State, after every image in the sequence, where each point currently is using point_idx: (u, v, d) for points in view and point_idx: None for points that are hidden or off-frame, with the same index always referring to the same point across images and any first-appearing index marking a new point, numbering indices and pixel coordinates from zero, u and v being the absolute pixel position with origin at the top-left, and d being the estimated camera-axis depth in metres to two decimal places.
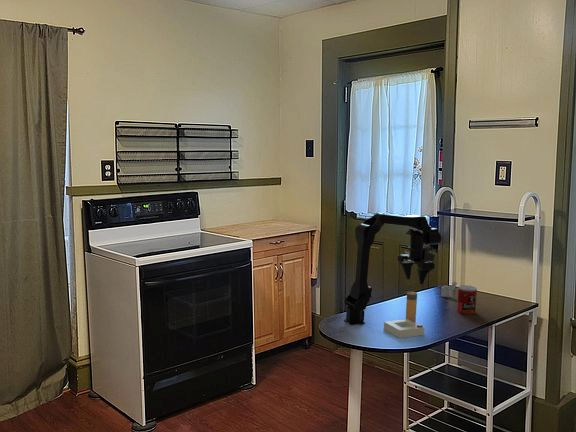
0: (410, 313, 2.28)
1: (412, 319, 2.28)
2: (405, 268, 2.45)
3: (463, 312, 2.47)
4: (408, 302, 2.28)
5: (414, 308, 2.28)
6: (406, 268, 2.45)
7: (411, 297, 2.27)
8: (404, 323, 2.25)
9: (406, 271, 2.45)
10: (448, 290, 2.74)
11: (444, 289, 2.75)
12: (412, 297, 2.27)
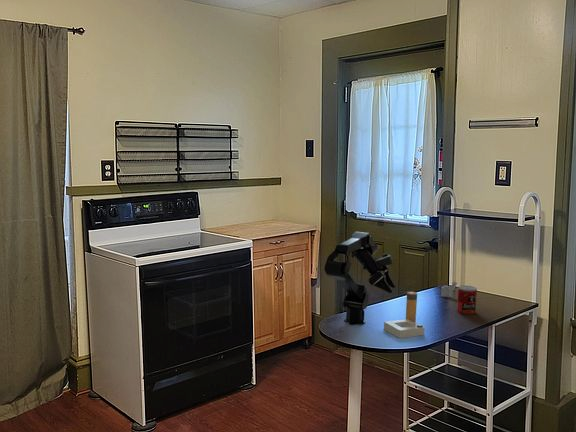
0: (410, 313, 2.28)
1: (412, 319, 2.28)
2: None
3: (463, 312, 2.47)
4: (408, 302, 2.28)
5: (414, 308, 2.28)
6: None
7: (411, 297, 2.27)
8: (404, 323, 2.25)
9: (386, 282, 2.36)
10: (448, 290, 2.74)
11: (444, 289, 2.75)
12: (412, 297, 2.27)
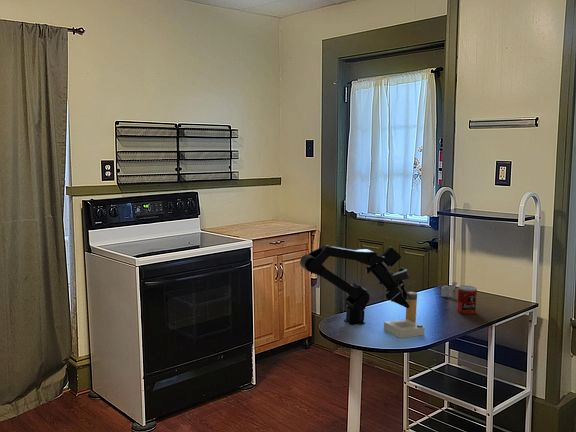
0: (410, 313, 2.28)
1: (412, 319, 2.28)
2: None
3: (463, 312, 2.47)
4: (408, 302, 2.28)
5: (414, 308, 2.28)
6: None
7: (411, 297, 2.27)
8: (404, 323, 2.25)
9: (402, 296, 2.35)
10: (448, 290, 2.74)
11: (444, 289, 2.75)
12: (412, 297, 2.27)
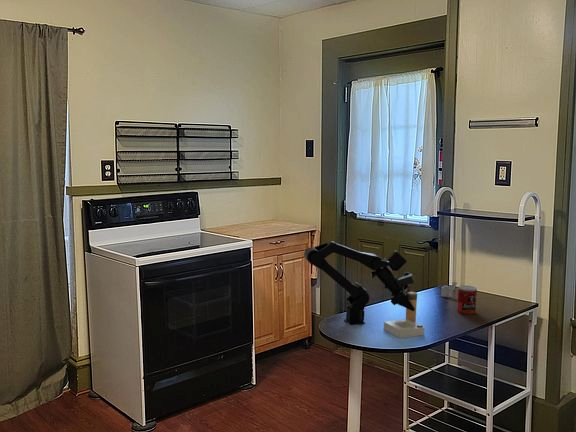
0: (410, 313, 2.28)
1: (412, 319, 2.28)
2: None
3: (463, 312, 2.47)
4: None
5: None
6: None
7: (411, 297, 2.27)
8: (404, 323, 2.25)
9: None
10: (448, 290, 2.74)
11: (444, 289, 2.75)
12: (412, 297, 2.27)
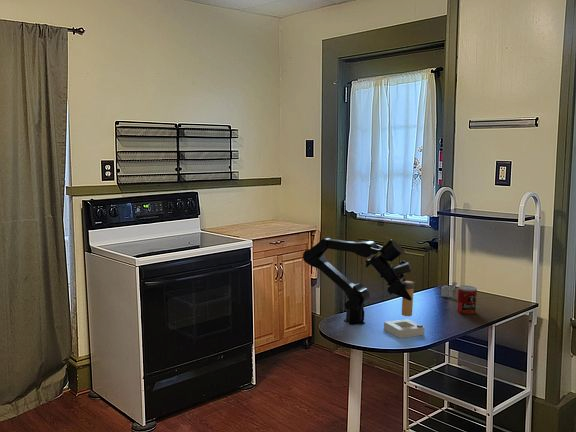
0: (407, 303, 2.21)
1: (409, 309, 2.22)
2: None
3: (463, 312, 2.47)
4: None
5: (411, 297, 2.21)
6: None
7: (408, 286, 2.20)
8: (404, 323, 2.25)
9: None
10: (448, 290, 2.74)
11: (444, 289, 2.75)
12: (409, 286, 2.20)
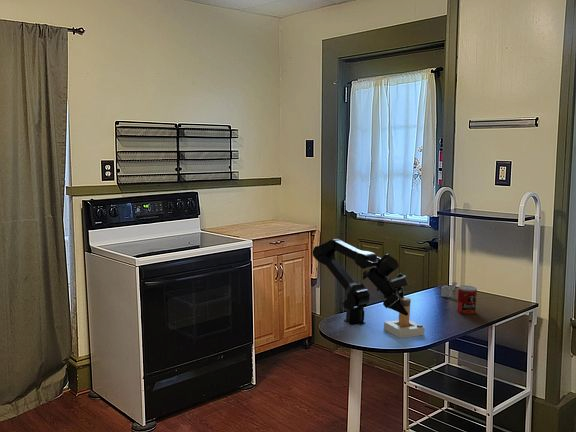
0: (403, 320, 2.19)
1: (405, 326, 2.19)
2: None
3: (463, 312, 2.47)
4: None
5: (407, 315, 2.19)
6: None
7: (404, 303, 2.18)
8: None
9: None
10: (448, 290, 2.74)
11: (444, 289, 2.75)
12: (405, 303, 2.18)
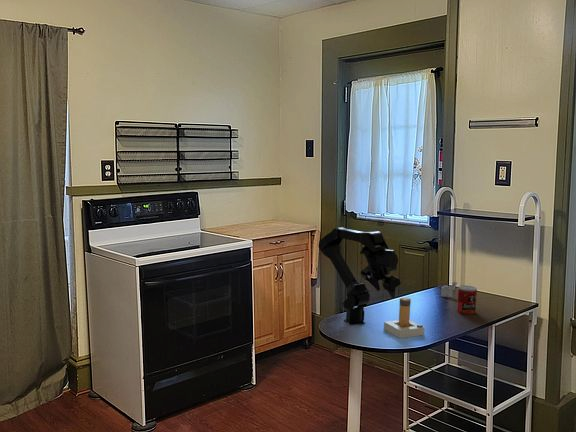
0: (403, 320, 2.19)
1: (405, 326, 2.19)
2: (372, 283, 2.32)
3: (463, 312, 2.47)
4: (401, 309, 2.19)
5: (407, 315, 2.19)
6: (372, 282, 2.32)
7: (405, 303, 2.18)
8: None
9: (374, 285, 2.32)
10: (448, 290, 2.74)
11: (444, 289, 2.75)
12: (405, 303, 2.18)
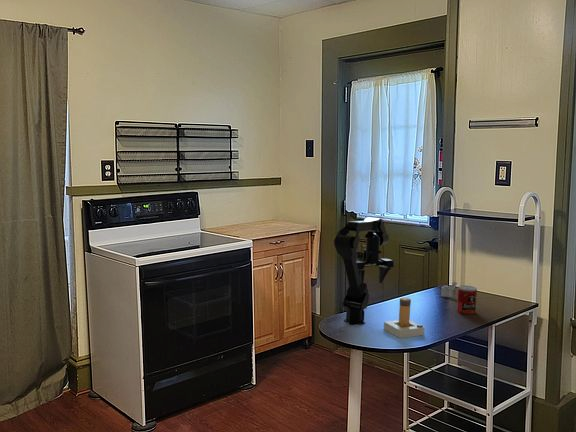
0: (403, 320, 2.19)
1: (405, 326, 2.19)
2: None
3: (463, 312, 2.47)
4: (401, 309, 2.19)
5: (407, 315, 2.19)
6: None
7: (405, 303, 2.18)
8: None
9: None
10: (448, 290, 2.74)
11: (444, 289, 2.75)
12: (405, 303, 2.18)
